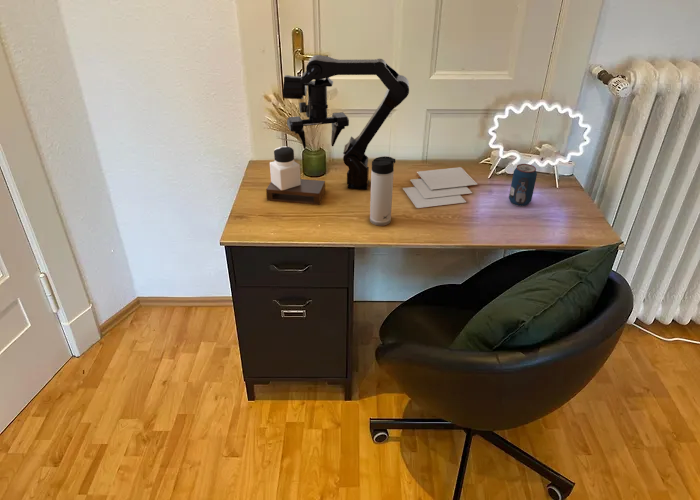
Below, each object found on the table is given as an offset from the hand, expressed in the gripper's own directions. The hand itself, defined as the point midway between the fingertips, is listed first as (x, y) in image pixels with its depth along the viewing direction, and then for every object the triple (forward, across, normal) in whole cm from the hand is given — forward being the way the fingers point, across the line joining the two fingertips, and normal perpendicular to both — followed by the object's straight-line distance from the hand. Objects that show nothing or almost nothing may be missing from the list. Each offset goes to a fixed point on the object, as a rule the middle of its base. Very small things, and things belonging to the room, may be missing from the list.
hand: (318, 147), depth 174 cm
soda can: (+13, -58, +31) cm, 66 cm away
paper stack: (+13, -38, +14) cm, 42 cm away
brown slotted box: (+13, +9, +6) cm, 17 cm away
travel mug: (+13, -11, +29) cm, 34 cm away
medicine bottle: (+9, +12, +5) cm, 16 cm away
